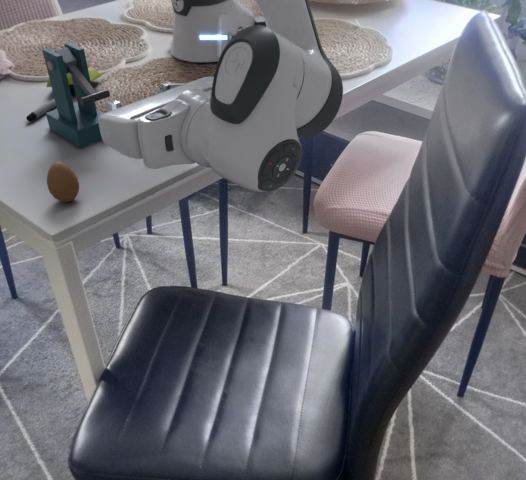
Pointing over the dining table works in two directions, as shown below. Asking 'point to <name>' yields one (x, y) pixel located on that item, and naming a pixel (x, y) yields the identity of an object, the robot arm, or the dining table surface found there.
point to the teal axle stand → (71, 101)
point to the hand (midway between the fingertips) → (137, 96)
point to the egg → (62, 182)
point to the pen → (45, 108)
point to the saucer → (92, 74)
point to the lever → (81, 78)
